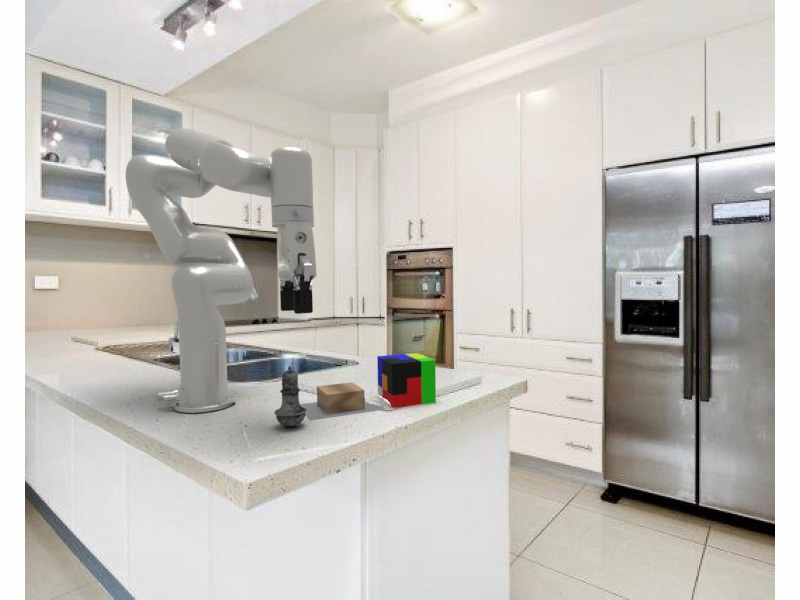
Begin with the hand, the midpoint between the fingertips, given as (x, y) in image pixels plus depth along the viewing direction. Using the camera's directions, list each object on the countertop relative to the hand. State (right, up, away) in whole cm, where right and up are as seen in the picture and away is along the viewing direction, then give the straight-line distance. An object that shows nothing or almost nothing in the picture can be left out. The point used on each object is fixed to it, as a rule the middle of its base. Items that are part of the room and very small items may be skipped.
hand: (296, 311), depth 83 cm
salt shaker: (-1, -22, 0) cm, 22 cm away
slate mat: (+7, -21, +13) cm, 25 cm away
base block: (+7, -21, +12) cm, 25 cm away
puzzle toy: (+21, -21, +18) cm, 34 cm away
